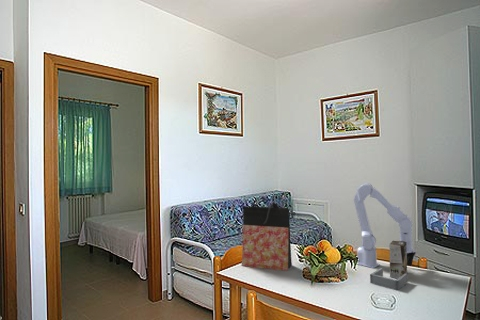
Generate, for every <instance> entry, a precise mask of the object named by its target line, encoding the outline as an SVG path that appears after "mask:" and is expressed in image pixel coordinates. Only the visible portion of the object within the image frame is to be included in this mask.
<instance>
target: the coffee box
mask: <svg viewBox="0 0 480 320" xmlns="http://www.w3.org/2000/svg"><path fill="white" fill-rule="evenodd" d="M404 274H407V275H408V265H407V247H406V242H402V241H400V240H392V241H391V242H390V243H389V278H392V279H398V278H399V277H401V276H402V275H404Z"/></svg>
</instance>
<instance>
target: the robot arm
mask: <svg viewBox="0 0 480 320" xmlns="http://www.w3.org/2000/svg"><path fill="white" fill-rule="evenodd" d="M368 196H369V198H374V199H376V200H377V201H378V202H379V203H380V204H381V205H382V206H384V208H386V210H387V211H386V213H387V214H388V216H390V217H391V219H393V220H394V221H395V222H396V223H398V226H399V241H402V242H406V247H407V267H408V266H409V267H412V265H413V261H414V257H415V255H416V253H417V252H416V250H415V249H414V246H413V232H412V231H413V229H412V227H413V221H412V220H411V218H410V217H409V216H408V214H405V213H404V212H403V211H402V210H401V207H400V206H397V205H394V204H393V205H392V204H391V202H390V201H388V199H387V198H386V197H385V196H384V195H383V194H382V193H381V192H380V191H379V190H378V189H377V188H376V187H374V186H373V185H372V184H371V183H369V182H366V183H363V184H361V185H360V186H359V187H358V188H357V189H356V193H355V195H354V197H353V202H354V203H353V204H354V207H355V210H356V214H357V218H358V223H359V227H360V230H361V245H362V246H359V247H357V250H356V258H357V257H358V259H359V260H358V264H357V265H359V266H364V267H367V268H372V269H375V268H377V267H378V266H380V263H378V261H377V259H378V258H377V256H378V255H377V247H376V246H375V245H376V244H377V238H376V237H375V235H374V234H373V231H372V229H371V225H370V222H369V217H368V214H367V210H366V205H365V200H366V199H367V197H368Z"/></svg>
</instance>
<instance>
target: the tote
mask: <svg viewBox="0 0 480 320" xmlns="http://www.w3.org/2000/svg"><path fill="white" fill-rule="evenodd" d="M369 277H370V278H369V280H370V281H369V282H370V284H372V285H376V286H380V287H384V288H386V289H391V290H395V291H399V290H400V289H402V288H403V287H405V285H407V284H408V273H407V274H404V275H402V276H401V277H399V278H396V279H395V278H391V277H385V276H384V269H383V268H382V267H380V268H378V269H377V270H374V271H373V272H372V273H370V274H369Z"/></svg>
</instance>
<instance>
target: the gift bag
mask: <svg viewBox="0 0 480 320" xmlns="http://www.w3.org/2000/svg"><path fill="white" fill-rule="evenodd" d="M290 216H296V211H291V212H290V210H289V207H279V206H278V205H277V204H276V202H272V203H271V204H270V205H269V206H260V205H258V204H256V203H252V206H248V205H247V206H246V205H245V206H244V205H243V206H242V221H243V222H242V247H241V248H242V249H241V250H242V251H241V252H242V255H241V266H242V267H249V268H259V269H267V270H277V271H284V272H285V271H286V272H287V271H288V272H289V270H290V268H291V267H292V265H293V263H292V250H291V247H292V245H291V228H290V227H291V225H290V223H291V222H290Z"/></svg>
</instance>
